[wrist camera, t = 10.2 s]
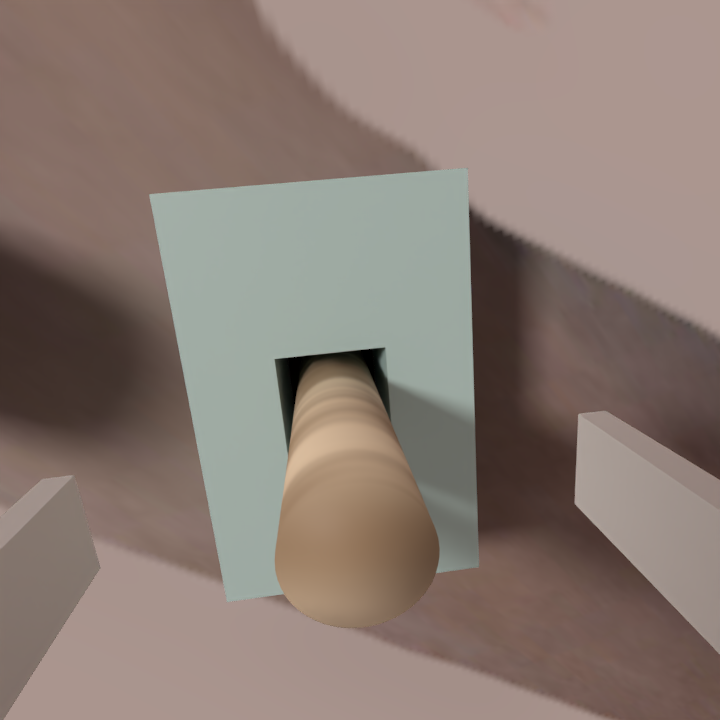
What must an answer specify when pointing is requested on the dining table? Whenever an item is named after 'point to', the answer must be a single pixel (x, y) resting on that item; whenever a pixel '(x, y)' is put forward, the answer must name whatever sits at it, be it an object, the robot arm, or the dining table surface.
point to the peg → (350, 503)
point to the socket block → (322, 339)
